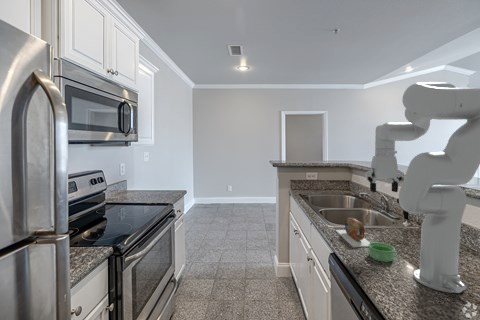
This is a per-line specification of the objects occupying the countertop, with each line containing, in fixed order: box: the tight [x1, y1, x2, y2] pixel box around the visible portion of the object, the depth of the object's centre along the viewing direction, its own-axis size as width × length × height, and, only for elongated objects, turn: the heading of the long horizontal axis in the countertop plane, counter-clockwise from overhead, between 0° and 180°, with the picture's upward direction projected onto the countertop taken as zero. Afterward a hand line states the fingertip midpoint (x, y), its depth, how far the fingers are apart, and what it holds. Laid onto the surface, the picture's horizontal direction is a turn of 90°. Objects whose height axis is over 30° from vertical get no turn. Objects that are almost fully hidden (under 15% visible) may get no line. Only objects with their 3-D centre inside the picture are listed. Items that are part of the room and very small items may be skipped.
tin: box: [344, 216, 365, 240], centre depth 119 cm, size 15×3×8 cm, turn 0°
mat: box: [335, 229, 371, 248], centre depth 119 cm, size 20×9×1 cm, turn 0°
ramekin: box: [368, 241, 396, 263], centre depth 99 cm, size 9×9×4 cm
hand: (383, 191), depth 113 cm, fingers open, 9 cm apart
